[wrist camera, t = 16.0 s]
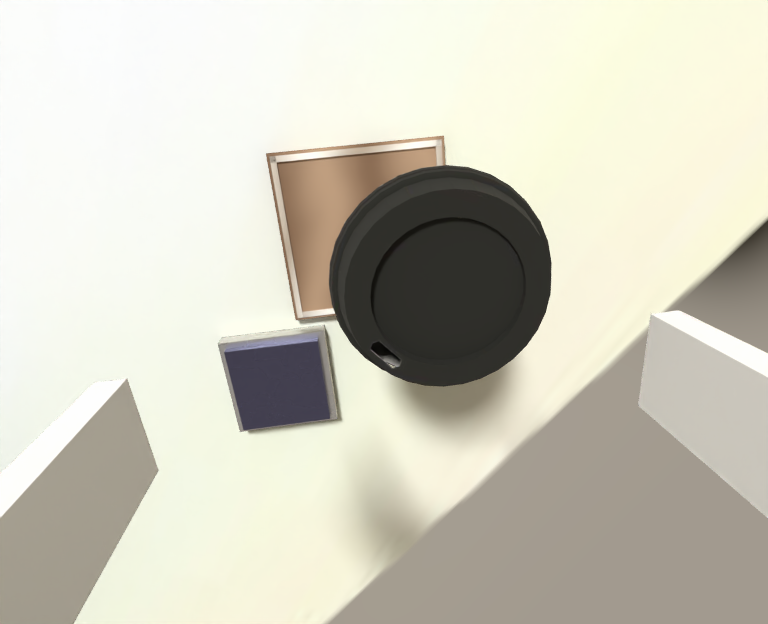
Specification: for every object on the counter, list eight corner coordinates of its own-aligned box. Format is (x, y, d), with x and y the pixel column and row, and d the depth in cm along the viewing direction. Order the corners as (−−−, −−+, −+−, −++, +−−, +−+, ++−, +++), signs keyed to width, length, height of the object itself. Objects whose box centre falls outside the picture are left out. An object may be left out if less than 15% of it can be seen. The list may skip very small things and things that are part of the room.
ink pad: (243, 423, 37) (238, 436, 36) (221, 337, 34) (215, 347, 33) (337, 410, 38) (337, 423, 36) (324, 325, 35) (323, 334, 33)
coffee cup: (500, 223, 32) (614, 291, 18) (404, 314, 34) (441, 437, 20) (407, 119, 29) (459, 106, 15) (308, 226, 31) (274, 301, 17)
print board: (296, 316, 34) (295, 320, 34) (267, 153, 30) (265, 153, 29) (448, 298, 35) (451, 302, 34) (441, 136, 31) (444, 135, 30)
